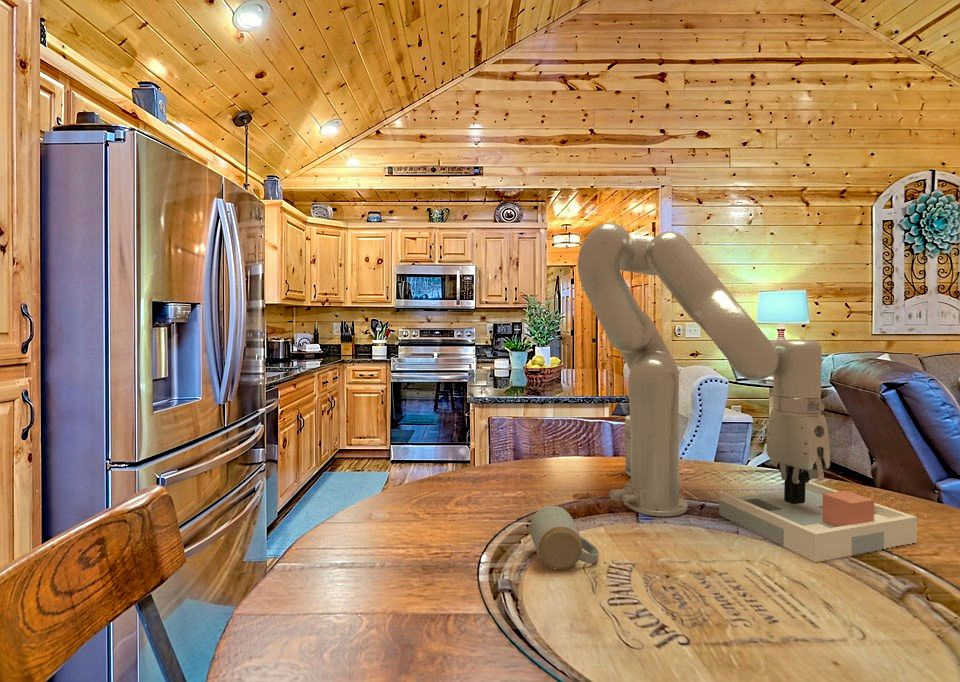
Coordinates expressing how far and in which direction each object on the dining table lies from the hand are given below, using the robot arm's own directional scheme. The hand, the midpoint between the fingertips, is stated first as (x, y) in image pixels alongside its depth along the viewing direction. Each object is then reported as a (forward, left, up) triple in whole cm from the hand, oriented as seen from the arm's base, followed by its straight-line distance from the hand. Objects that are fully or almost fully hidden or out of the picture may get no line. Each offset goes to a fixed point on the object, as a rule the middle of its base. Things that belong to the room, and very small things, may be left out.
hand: (794, 501), depth 93 cm
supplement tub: (-10, +33, -4) cm, 35 cm away
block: (+1, -10, -1) cm, 10 cm away
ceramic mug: (-47, 0, -4) cm, 48 cm away
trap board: (0, -3, -4) cm, 5 cm away
